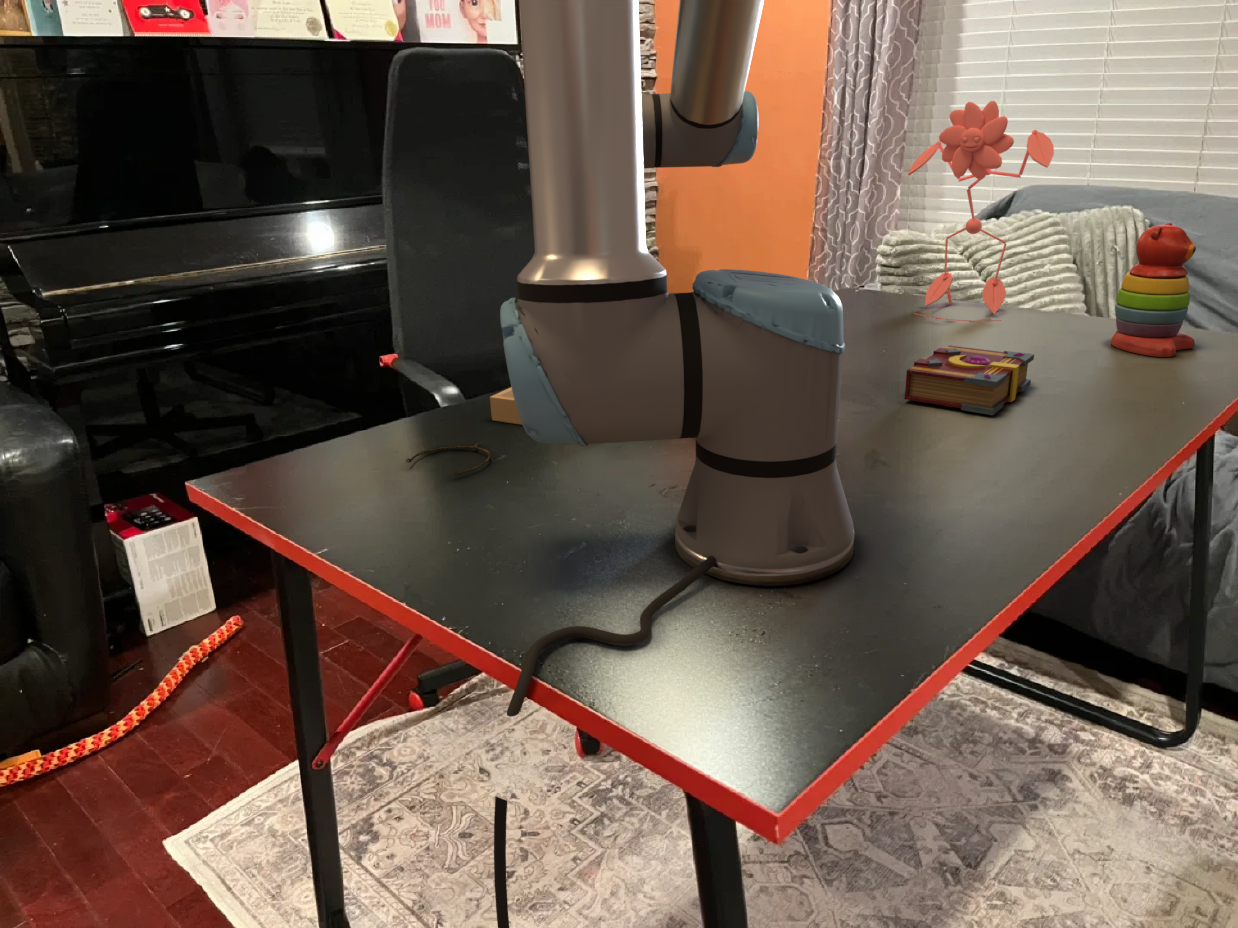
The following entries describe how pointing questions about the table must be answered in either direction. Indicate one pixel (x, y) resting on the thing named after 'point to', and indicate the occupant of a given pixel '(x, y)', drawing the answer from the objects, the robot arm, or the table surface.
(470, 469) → the accessory
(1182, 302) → the stacking bear
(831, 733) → the table surface
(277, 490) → the table surface
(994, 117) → the figurine
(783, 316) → the robot arm
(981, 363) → the decorative book
